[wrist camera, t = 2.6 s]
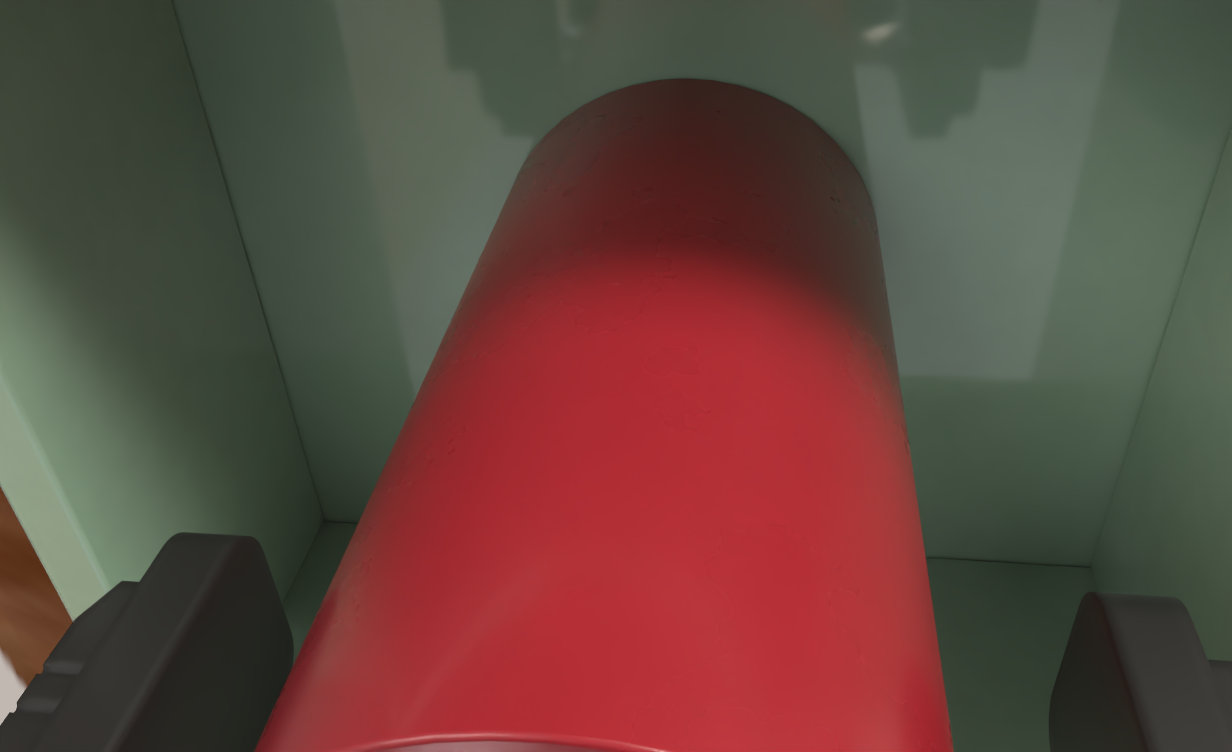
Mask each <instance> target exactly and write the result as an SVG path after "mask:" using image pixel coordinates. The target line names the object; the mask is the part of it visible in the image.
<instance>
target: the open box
mask: <svg viewBox="0 0 1232 752" xmlns="http://www.w3.org/2000/svg"><path fill="white" fill-rule="evenodd" d="M670 79H700V80H714V81H719V82H724V83H729V84H734V85H739V86H743V87H746V88H749V89H752V90H755V91H758V92H761V93H764V94H766V95H769V96H771V97H773V98H775V99H777V100H779V101H781V102H783V103H785V104H787V105H789V106H791V107H792V108H794V109H796V110H797V111H799V112H800V113H802V114H803V115H805V116H806V117H808V118H809V119H811V120H812V121H813V122H814V123H816V124H817V125H818V126H819V127H820V128H821V129H822V130H824V131H825V132H826V133H827V134H828V135H829V136H830V137H832V139H833V140H834V141H835V142H836V143H837V144H838V145H839V147H840V148H841V149H842V150H843V151H844V152H845V154H846V155H847V156H848V157H849V159H850V160H851V162H852V164H853V165H854V167H855V168H856V170H857V171H858V173H859V175H860V176H861V178H862V180H863V182H864V185H865V187H866V189H867V191H868V194H869V196H870V198H871V202H872V205H873V209H874V213H875V216H876V220H877V226H878V233H879V240H880V247H881V254H882V260H883V267H884V274H885V281H886V288H887V295H888V302H889V309H890V315H891V322H892V329H893V336H894V343H895V350H896V357H897V364H898V370H899V377H900V384H901V391H902V398H903V405H904V412H905V419H906V425H907V432H908V439H909V446H910V453H911V460H912V467H913V474H914V480H915V487H916V494H917V501H918V508H919V515H920V522H921V528H922V535H923V542H924V549H925V556H926V563H927V570H928V577H929V583H930V590H931V597H932V604H933V611H934V618H935V625H936V632H937V638H938V645H939V652H940V659H941V666H942V673H943V680H944V687H945V693H946V700H947V707H948V714H949V721H950V728H951V735H952V742H953V748H954V752H1051V750H1050V741H1049V708H1050V700H1051V695H1052V691H1053V688H1054V684H1055V681H1056V678H1057V675H1058V672H1059V668H1060V665H1061V662H1062V659H1063V656H1064V652H1065V649H1066V646H1067V643H1068V640H1069V636H1070V633H1071V630H1072V627H1073V624H1074V621H1075V617H1076V614H1077V611H1078V608H1079V605H1080V602H1081V600H1082V598H1083V596H1084V595H1085V594H1086V593H1088V592H1103V593H1119V594H1135V595H1151V596H1167V597H1176V598H1178V599H1179V600H1180V601H1181V602H1182V603H1183V604H1184V605H1185V607H1186V608H1187V610H1188V612H1189V614H1190V617H1191V619H1192V621H1193V624H1194V627H1195V629H1196V632H1197V634H1198V637H1199V639H1200V642H1201V644H1202V647H1203V649H1204V652H1205V654H1206V657H1207V659H1208V660H1221V661H1232V0H0V486H1V488H2V490H3V492H4V494H5V496H6V498H7V499H8V501H9V503H10V505H11V507H12V509H13V511H14V512H15V514H16V516H17V518H18V520H19V522H20V524H21V526H22V527H23V529H24V531H25V533H26V535H27V537H28V539H29V540H30V542H31V544H32V546H33V548H34V550H35V552H36V554H37V555H38V557H39V559H40V561H41V563H42V565H43V567H44V568H45V570H46V572H47V574H48V576H49V578H50V580H51V582H52V583H53V585H54V587H55V589H56V591H57V593H58V595H59V596H60V598H61V600H62V602H63V604H64V606H65V608H66V610H67V611H68V613H69V615H70V617H71V619H72V621H74V620H75V619H76V618H77V617H78V616H79V615H81V614H82V613H83V612H84V611H85V610H87V609H88V608H89V607H90V606H92V605H93V604H94V603H95V602H96V601H98V600H99V599H100V598H101V597H103V596H104V595H105V594H106V593H107V592H109V591H110V590H111V589H112V588H114V587H115V586H116V585H117V584H118V583H120V582H121V581H134V582H139V581H140V580H141V578H142V577H143V575H144V574H145V572H146V571H147V569H148V568H149V566H150V565H151V563H152V562H153V560H154V559H155V557H156V556H157V554H158V553H159V551H160V550H161V548H162V547H163V545H164V544H165V543H166V542H167V541H168V540H169V539H170V538H171V537H172V536H173V535H175V534H177V533H180V532H190V533H206V534H222V535H238V536H251V537H254V538H255V539H256V540H258V542H259V543H260V544H261V546H262V549H263V551H264V554H265V557H266V560H267V563H268V565H269V568H270V571H271V574H272V577H273V580H274V583H275V586H276V588H277V591H278V594H279V597H280V600H281V603H282V606H283V609H284V612H285V614H286V617H287V620H288V623H289V626H290V629H291V632H292V636H293V645H294V658H293V665H294V663H295V661H296V659H297V656H298V654H299V652H300V650H301V648H302V645H303V643H304V641H305V639H306V637H307V634H308V632H309V630H310V628H311V626H312V624H313V621H314V619H315V617H316V615H317V613H318V610H319V608H320V606H321V604H322V602H323V599H324V597H325V595H326V593H327V591H328V589H329V586H330V584H331V582H332V580H333V578H334V575H335V573H336V571H337V569H338V567H339V564H340V562H341V560H342V558H343V556H344V553H345V551H346V549H347V547H348V545H349V543H350V540H351V538H352V536H353V534H354V532H355V529H356V527H357V525H358V523H359V521H360V518H361V516H362V514H363V512H364V510H365V508H366V505H367V503H368V501H369V499H370V497H371V494H372V492H373V490H374V488H375V486H376V483H377V481H378V479H379V477H380V475H381V473H382V470H383V468H384V466H385V464H386V462H387V459H388V457H389V455H390V453H391V451H392V448H393V446H394V444H395V442H396V440H397V438H398V435H399V433H400V431H401V429H402V427H403V424H404V422H405V420H406V418H407V416H408V413H409V411H410V409H411V407H412V405H413V403H414V400H415V398H416V396H417V394H418V392H419V389H420V387H421V385H422V383H423V381H424V378H425V376H426V374H427V372H428V370H429V368H430V365H431V363H432V361H433V359H434V357H435V354H436V352H437V350H438V348H439V346H440V343H441V341H442V339H443V337H444V335H445V333H446V330H447V328H448V326H449V324H450V322H451V319H452V317H453V315H454V313H455V311H456V308H457V306H458V304H459V302H460V300H461V298H462V295H463V293H464V291H465V289H466V287H467V284H468V282H469V280H470V278H471V276H472V273H473V271H474V269H475V267H476V265H477V263H478V260H479V258H480V256H481V254H482V252H483V249H484V247H485V245H486V243H487V241H488V238H489V236H490V234H491V232H492V230H493V228H494V225H495V223H496V221H497V219H498V217H499V214H500V212H501V210H502V208H503V206H504V203H505V201H506V199H507V197H508V195H509V193H510V190H511V188H512V186H513V184H514V182H515V179H516V177H517V175H518V173H519V171H520V169H521V168H522V166H523V164H524V163H525V161H526V159H527V158H528V156H529V155H530V153H531V152H532V150H533V149H534V148H535V147H536V146H537V144H538V143H539V142H540V141H541V140H542V138H543V137H544V136H545V135H546V134H547V133H548V132H549V131H550V130H551V129H553V128H554V127H555V126H556V125H557V124H558V123H559V122H560V121H561V120H563V119H564V118H565V117H567V116H568V115H570V114H571V113H573V112H574V111H576V110H577V109H579V108H580V107H582V106H583V105H585V104H587V103H589V102H591V101H593V100H595V99H597V98H599V97H601V96H603V95H605V94H607V93H610V92H613V91H616V90H619V89H622V88H625V87H628V86H631V85H636V84H641V83H646V82H652V81H657V80H670Z"/></svg>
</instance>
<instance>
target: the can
mask: <svg viewBox="0 0 1232 752" xmlns="http://www.w3.org/2000/svg"><path fill="white" fill-rule="evenodd" d="M254 752H954V748H953V742H952V735H951V728H950V721H949V714H948V707H947V700H946V693H945V687H944V680H943V673H942V666H941V659H940V652H939V645H938V638H937V632H936V625H935V618H934V611H933V604H932V597H931V590H930V583H929V577H928V570H927V563H926V556H925V549H924V542H923V535H922V528H921V522H920V515H919V508H918V501H917V494H916V487H915V480H914V474H913V467H912V460H911V453H910V446H909V439H908V432H907V425H906V419H905V412H904V405H903V398H902V391H901V384H900V377H899V370H898V364H897V357H896V350H895V343H894V336H893V329H892V322H891V315H890V309H889V302H888V295H887V288H886V281H885V274H884V267H883V260H882V254H881V247H880V240H879V233H878V226H877V220H876V216H875V213H874V209H873V205H872V202H871V198H870V196H869V194H868V191H867V189H866V187H865V185H864V182H863V180H862V178H861V176H860V175H859V173H858V171H857V170H856V168H855V167H854V165H853V164H852V162H851V160H850V159H849V157H848V156H847V155H846V154H845V152H844V151H843V150H842V149H841V148H840V147H839V145H838V144H837V143H836V142H835V141H834V140H833V139H832V137H830V136H829V135H828V134H827V133H826V132H825V131H824V130H822V129H821V128H820V127H819V126H818V125H817V124H816V123H814V122H813V121H812V120H811V119H809V118H808V117H806V116H805V115H803V114H802V113H800V112H799V111H797V110H796V109H794V108H792V107H791V106H789V105H787V104H785V103H783V102H781V101H779V100H777V99H775V98H773V97H771V96H769V95H766V94H764V93H761V92H758V91H755V90H752V89H749V88H746V87H743V86H739V85H734V84H729V83H724V82H719V81H714V80H700V79H670V80H657V81H652V82H646V83H641V84H636V85H631V86H628V87H625V88H622V89H619V90H616V91H613V92H610V93H607V94H605V95H603V96H601V97H599V98H597V99H595V100H593V101H591V102H589V103H587V104H585V105H583V106H582V107H580V108H579V109H577V110H576V111H574V112H573V113H571V114H570V115H568V116H567V117H565V118H564V119H563V120H561V121H560V122H559V123H558V124H557V125H556V126H555V127H554V128H553V129H551V130H550V131H549V132H548V133H547V134H546V135H545V136H544V137H543V138H542V140H541V141H540V142H539V143H538V144H537V146H536V147H535V148H534V149H533V150H532V152H531V153H530V155H529V156H528V158H527V159H526V161H525V163H524V164H523V166H522V168H521V169H520V171H519V173H518V175H517V177H516V179H515V182H514V184H513V186H512V188H511V190H510V193H509V195H508V197H507V199H506V201H505V203H504V206H503V208H502V210H501V212H500V214H499V217H498V219H497V221H496V223H495V225H494V228H493V230H492V232H491V234H490V236H489V238H488V241H487V243H486V245H485V247H484V249H483V252H482V254H481V256H480V258H479V260H478V263H477V265H476V267H475V269H474V271H473V273H472V276H471V278H470V280H469V282H468V284H467V287H466V289H465V291H464V293H463V295H462V298H461V300H460V302H459V304H458V306H457V308H456V311H455V313H454V315H453V317H452V319H451V322H450V324H449V326H448V328H447V330H446V333H445V335H444V337H443V339H442V341H441V343H440V346H439V348H438V350H437V352H436V354H435V357H434V359H433V361H432V363H431V365H430V368H429V370H428V372H427V374H426V376H425V378H424V381H423V383H422V385H421V387H420V389H419V392H418V394H417V396H416V398H415V400H414V403H413V405H412V407H411V409H410V411H409V413H408V416H407V418H406V420H405V422H404V424H403V427H402V429H401V431H400V433H399V435H398V438H397V440H396V442H395V444H394V446H393V448H392V451H391V453H390V455H389V457H388V459H387V462H386V464H385V466H384V468H383V470H382V473H381V475H380V477H379V479H378V481H377V483H376V486H375V488H374V490H373V492H372V494H371V497H370V499H369V501H368V503H367V505H366V508H365V510H364V512H363V514H362V516H361V518H360V521H359V523H358V525H357V527H356V529H355V532H354V534H353V536H352V538H351V540H350V543H349V545H348V547H347V549H346V551H345V553H344V556H343V558H342V560H341V562H340V564H339V567H338V569H337V571H336V573H335V575H334V578H333V580H332V582H331V584H330V586H329V589H328V591H327V593H326V595H325V597H324V599H323V602H322V604H321V606H320V608H319V610H318V613H317V615H316V617H315V619H314V621H313V624H312V626H311V628H310V630H309V632H308V634H307V637H306V639H305V641H304V643H303V645H302V648H301V650H300V652H299V654H298V656H297V659H296V661H295V663H294V665H293V667H292V669H291V672H290V674H289V676H288V678H287V680H286V683H285V685H284V687H283V689H282V691H281V694H280V696H279V698H278V700H277V702H276V704H275V707H274V709H273V711H272V713H271V715H270V718H269V720H268V722H267V724H266V726H265V729H264V731H263V733H262V735H261V737H260V739H259V742H258V744H257V746H256V748H255V750H254Z"/></svg>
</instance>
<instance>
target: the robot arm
mask: <svg viewBox="0 0 1232 752" xmlns="http://www.w3.org/2000/svg"><path fill="white" fill-rule="evenodd" d="M293 658H294V645H293V636H292V632H291V629H290V626H289V623H288V620H287V617H286V614H285V612H284V609H283V606H282V603H281V600H280V597H279V594H278V591H277V588H276V586H275V583H274V580H273V577H272V574H271V571H270V568H269V565H268V563H267V560H266V557H265V554H264V551H263V549H262V546H261V544H260V543H259V542H258V540H256V539H255V538H254V537H251V536H238V535H222V534H206V533H190V532H180V533H177V534H175V535H173V536H172V537H171V538H170V539H169V540H168V541H167V542H166V543H165V544H164V545H163V547H162V548H161V550H160V551H159V553H158V554H157V556H156V557H155V559H154V560H153V562H152V563H151V565H150V566H149V568H148V569H147V571H146V572H145V574H144V575H143V577H142V578H141V580H140V581H139V582H134V581H121V582H120V583H118V584H117V585H116V586H115V587H114V588H112V589H111V590H110V591H109V592H107V593H106V594H105V595H104V596H103V597H101V598H100V599H99V600H98V601H96V602H95V603H94V604H93V605H92V606H90V607H89V608H88V609H87V610H85V611H84V612H83V613H82V614H81V615H79V616H78V617H77V618H76V619H75V620H74V621H73V623H72V624H71V626H70V627H69V628H68V630H67V631H66V633H65V634H64V636H63V637H62V638H61V640H60V641H59V643H58V644H57V646H56V647H55V648H54V650H53V651H52V653H51V654H50V656H49V657H48V658H47V660H46V661H45V663H44V664H43V666H44V669H43V672H42V673H41V674H36V676H35V677H34V678H33V680H32V681H31V683H30V684H29V686H28V687H27V688H26V690H25V691H24V693H23V694H22V696H21V697H20V698H19V700H18V701H17V709H16V711H15V712H14V713H9V714H8V716H7V717H6V718H5V720H4V721H3V723H2V724H1V725H0V752H254V750H255V748H256V746H257V744H258V742H259V739H260V737H261V735H262V733H263V731H264V729H265V726H266V724H267V722H268V720H269V718H270V715H271V713H272V711H273V709H274V707H275V704H276V702H277V700H278V698H279V696H280V694H281V691H282V689H283V687H284V685H285V683H286V680H287V678H288V676H289V674H290V672H291V669H292V667H293ZM1049 741H1050V750H1051V752H1232V661H1221V660H1208V659H1207V657H1206V654H1205V652H1204V649H1203V647H1202V644H1201V642H1200V639H1199V637H1198V634H1197V632H1196V629H1195V627H1194V624H1193V621H1192V619H1191V617H1190V614H1189V612H1188V610H1187V608H1186V607H1185V605H1184V604H1183V603H1182V602H1181V601H1180V600H1179V599H1178V598H1176V597H1167V596H1151V595H1135V594H1119V593H1103V592H1088V593H1086V594H1085V595H1084V596H1083V598H1082V600H1081V602H1080V605H1079V608H1078V611H1077V614H1076V617H1075V621H1074V624H1073V627H1072V630H1071V633H1070V636H1069V640H1068V643H1067V646H1066V649H1065V652H1064V656H1063V659H1062V662H1061V665H1060V668H1059V672H1058V675H1057V678H1056V681H1055V684H1054V688H1053V691H1052V695H1051V700H1050V708H1049Z"/></svg>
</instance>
